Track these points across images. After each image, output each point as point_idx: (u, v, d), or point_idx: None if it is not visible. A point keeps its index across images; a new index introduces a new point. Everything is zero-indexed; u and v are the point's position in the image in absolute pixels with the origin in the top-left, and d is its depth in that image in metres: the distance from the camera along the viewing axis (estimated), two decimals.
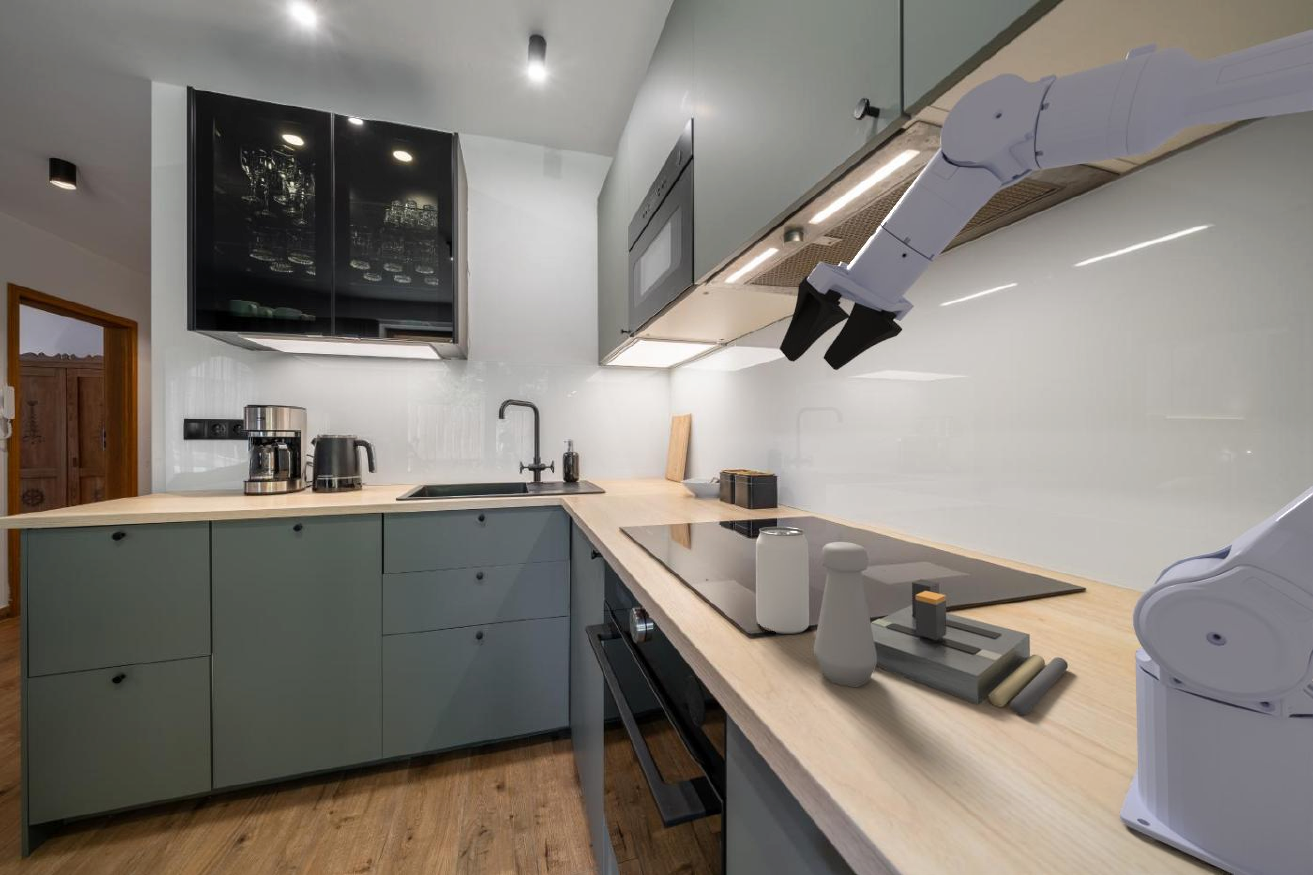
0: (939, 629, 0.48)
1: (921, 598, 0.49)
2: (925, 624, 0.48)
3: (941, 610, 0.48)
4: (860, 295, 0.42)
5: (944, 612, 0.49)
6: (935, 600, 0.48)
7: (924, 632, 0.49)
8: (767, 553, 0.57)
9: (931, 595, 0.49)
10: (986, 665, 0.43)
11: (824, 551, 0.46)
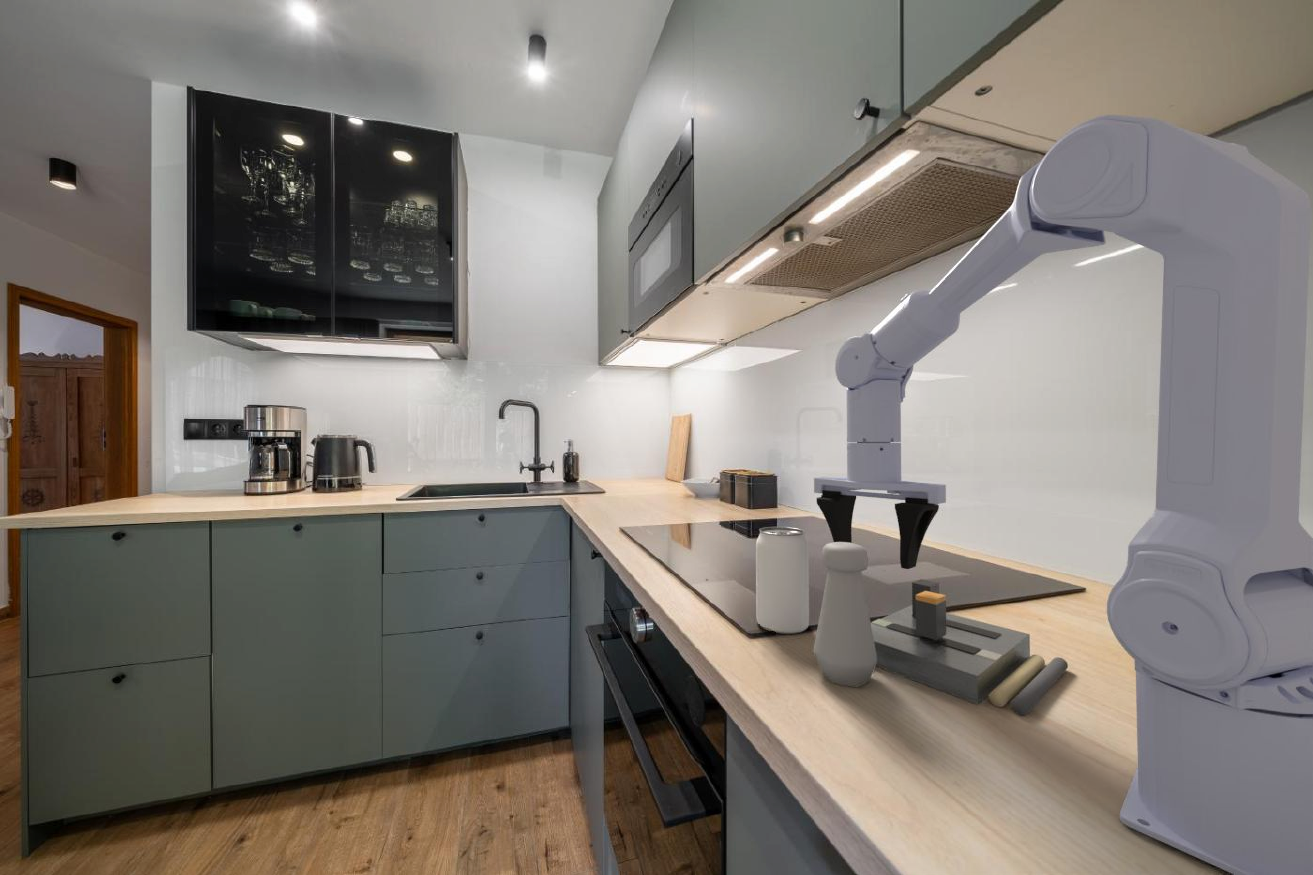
0: (939, 629, 0.48)
1: (921, 598, 0.49)
2: (925, 624, 0.48)
3: (941, 610, 0.48)
4: (837, 485, 0.56)
5: (944, 612, 0.49)
6: (935, 600, 0.48)
7: (924, 632, 0.49)
8: (767, 553, 0.57)
9: (931, 595, 0.49)
10: (986, 665, 0.43)
11: (824, 551, 0.46)
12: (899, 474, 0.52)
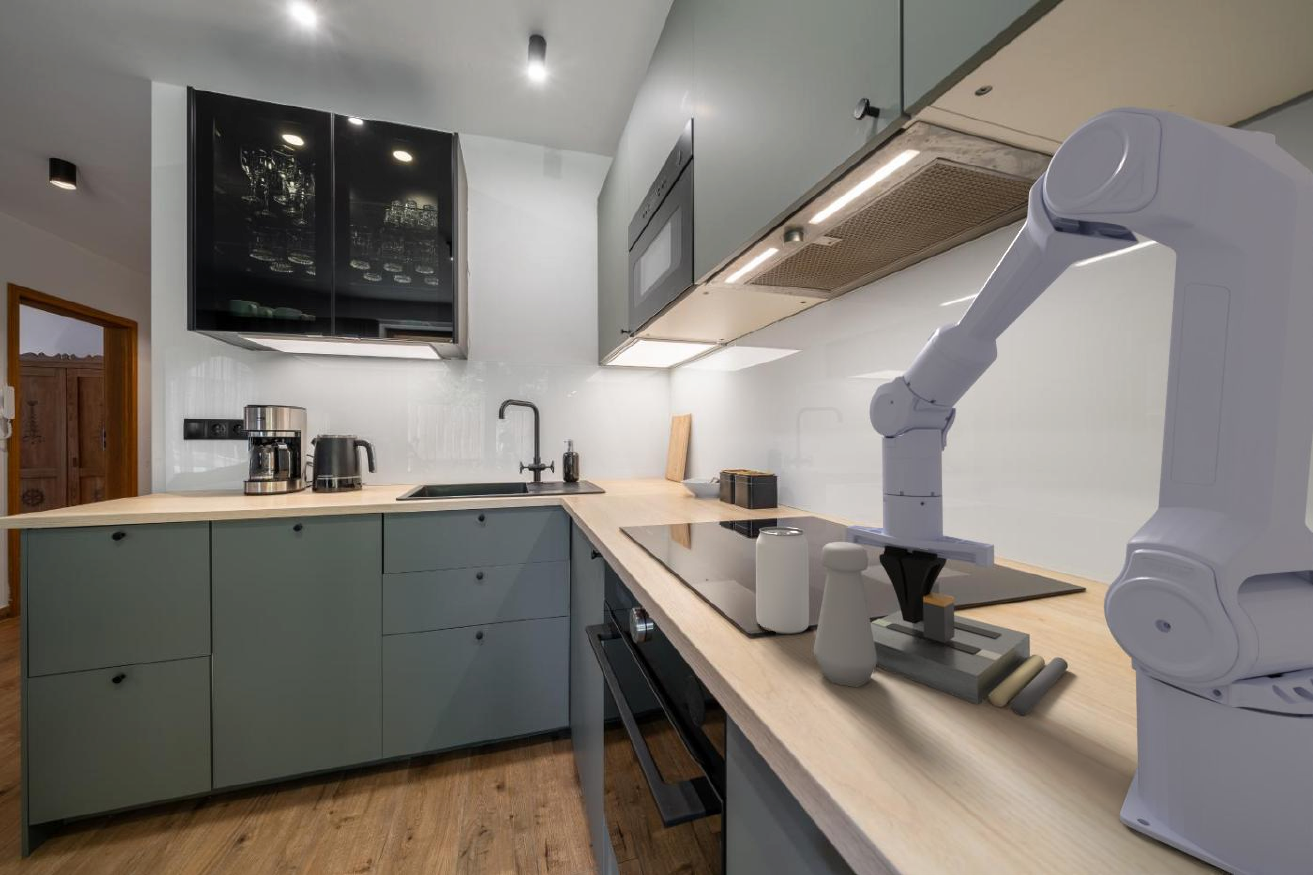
0: (947, 631, 0.48)
1: (929, 600, 0.48)
2: (933, 627, 0.48)
3: (949, 612, 0.48)
4: (872, 538, 0.52)
5: (952, 614, 0.48)
6: (944, 602, 0.47)
7: (932, 634, 0.48)
8: (767, 553, 0.57)
9: (939, 597, 0.49)
10: (986, 665, 0.43)
11: (824, 551, 0.46)
12: (941, 530, 0.49)
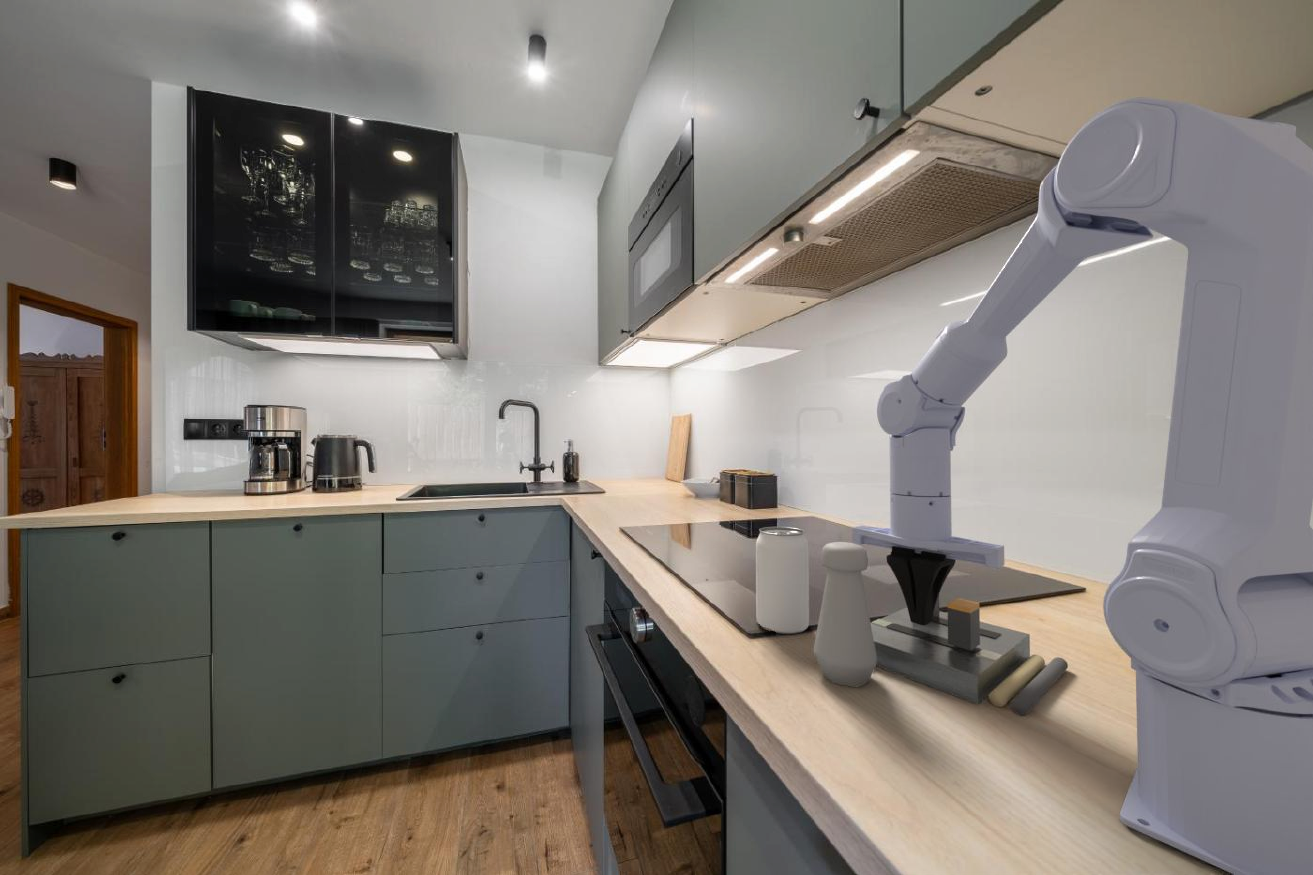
0: (973, 639, 0.46)
1: (954, 606, 0.46)
2: (958, 634, 0.46)
3: (975, 619, 0.46)
4: (879, 538, 0.52)
5: (978, 621, 0.46)
6: (969, 608, 0.45)
7: (957, 642, 0.46)
8: (767, 553, 0.57)
9: (964, 603, 0.47)
10: (986, 665, 0.43)
11: (824, 551, 0.46)
12: (950, 530, 0.48)
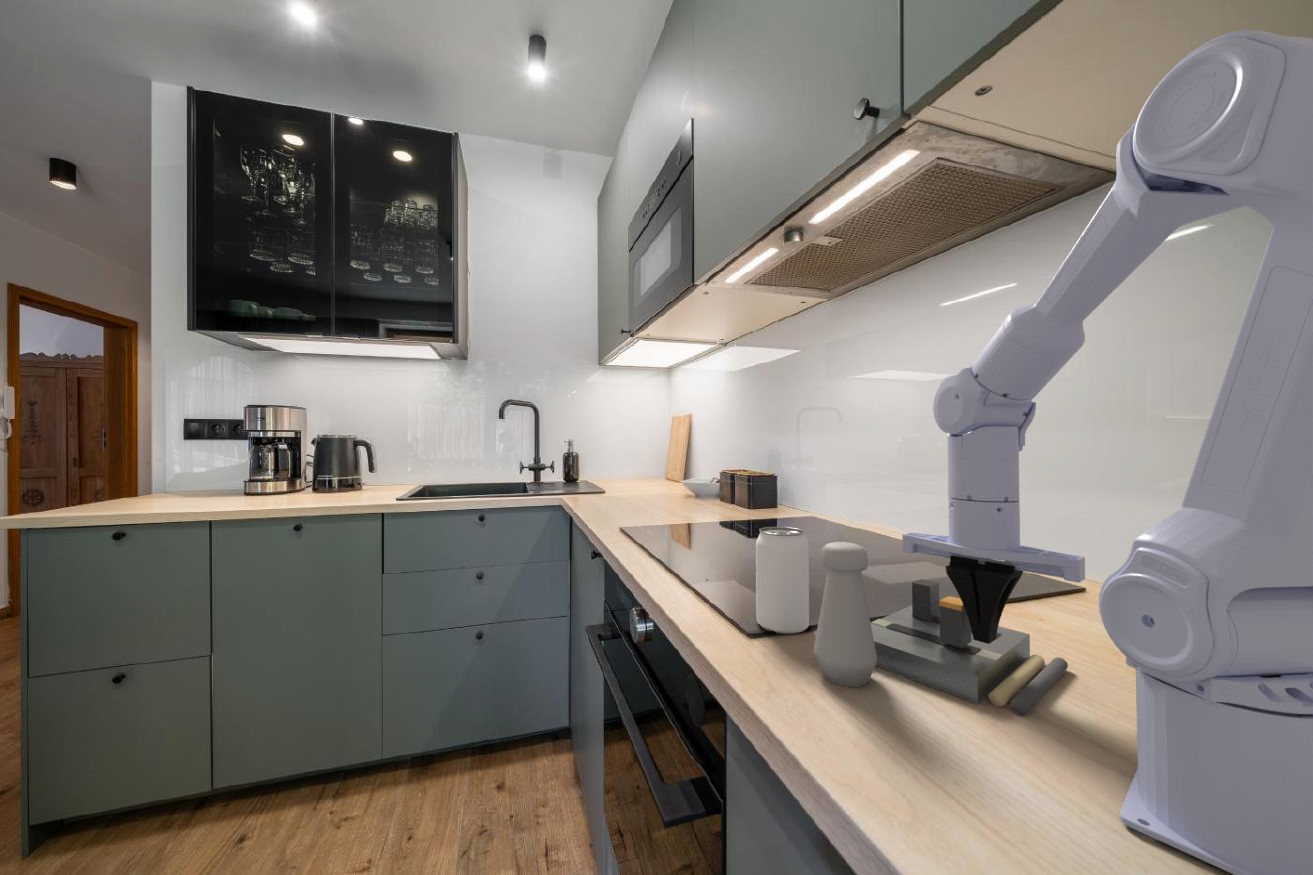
0: (964, 636, 0.46)
1: (945, 604, 0.47)
2: (950, 631, 0.47)
3: (966, 616, 0.47)
4: (936, 547, 0.47)
5: None
6: (961, 606, 0.46)
7: (949, 639, 0.47)
8: (767, 553, 0.57)
9: (956, 601, 0.47)
10: (986, 665, 0.43)
11: (824, 551, 0.46)
12: (1019, 539, 0.43)
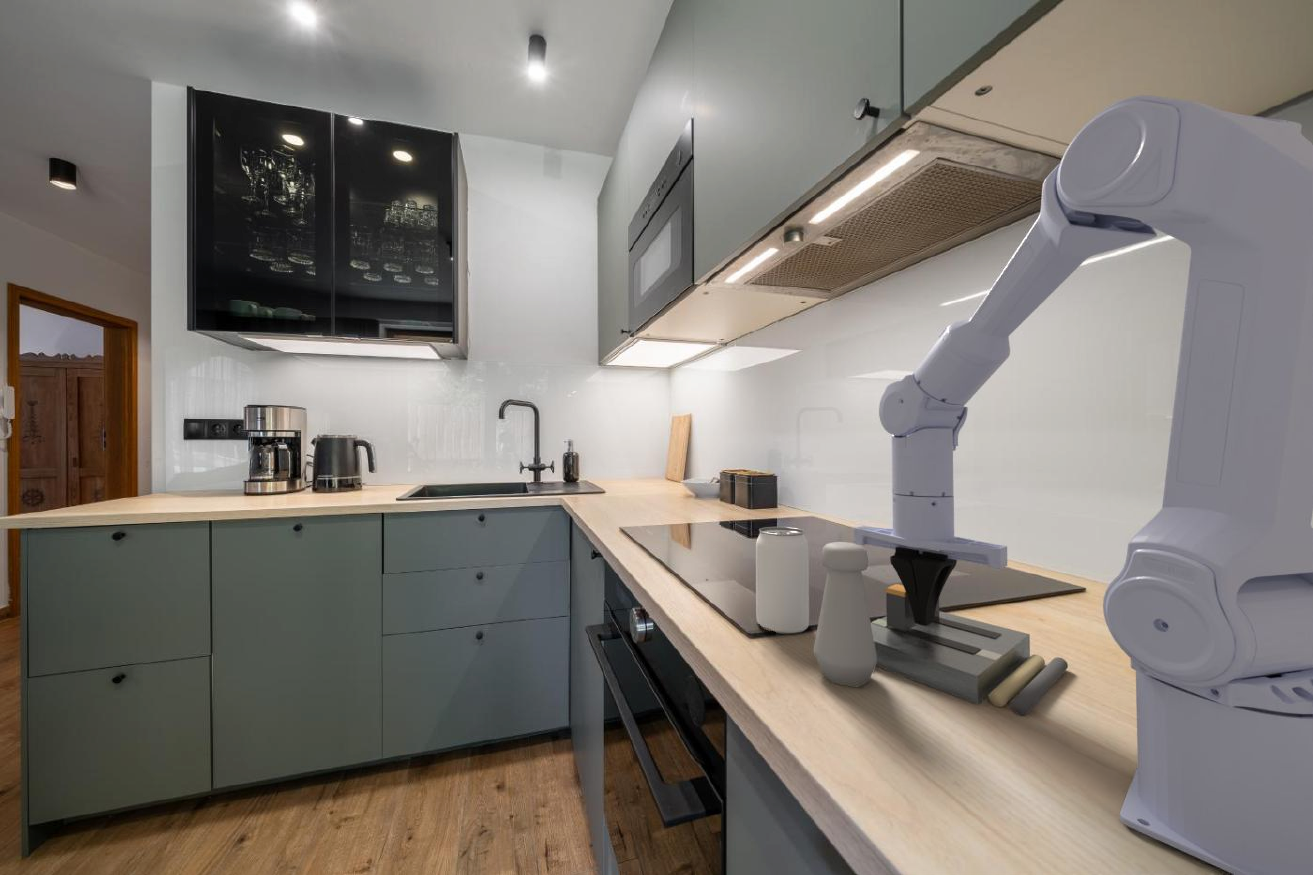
0: (908, 620, 0.51)
1: (891, 591, 0.51)
2: (895, 616, 0.51)
3: None
4: (881, 538, 0.51)
5: None
6: (904, 592, 0.50)
7: (894, 623, 0.51)
8: (767, 553, 0.57)
9: (901, 588, 0.52)
10: (986, 665, 0.43)
11: (824, 551, 0.46)
12: (952, 531, 0.48)
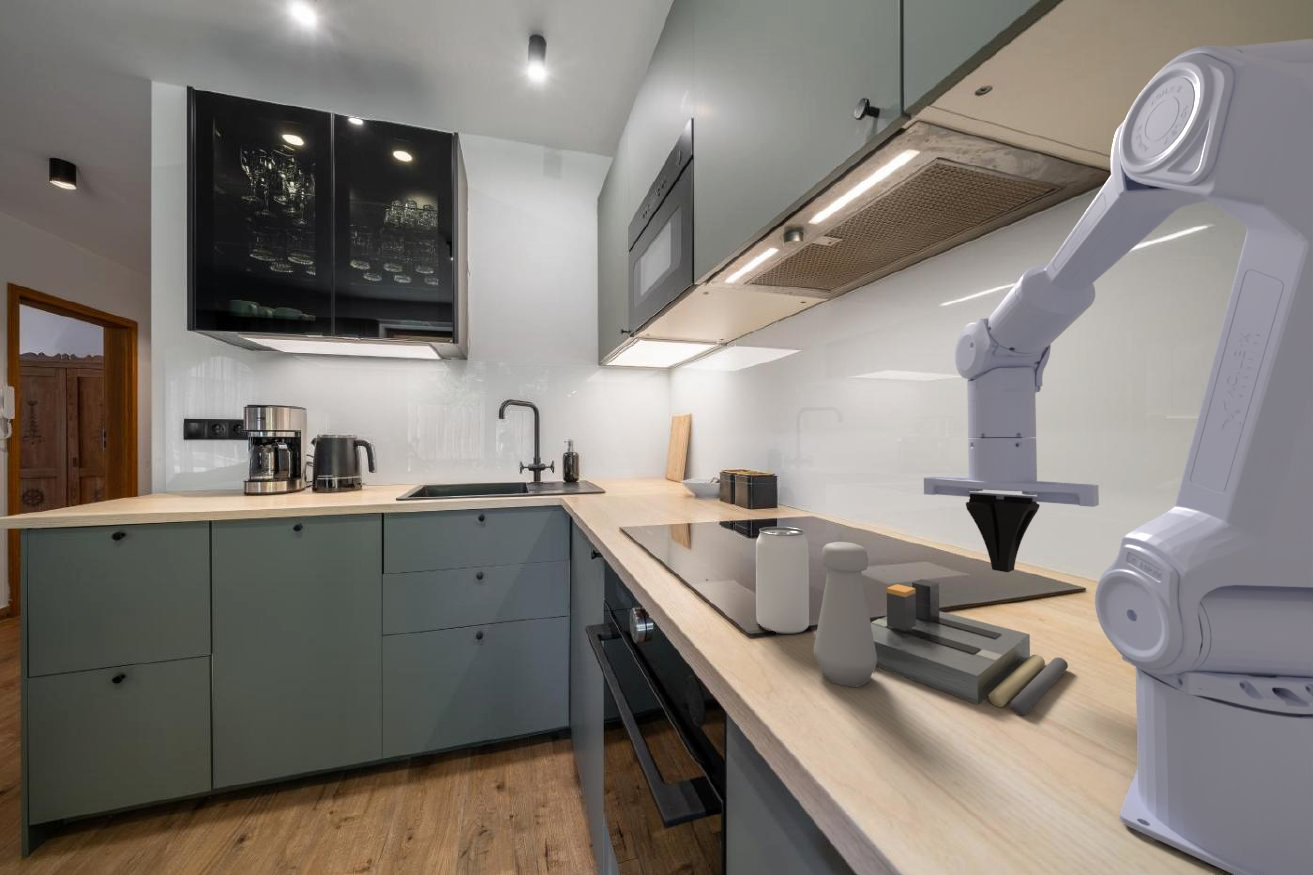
0: (908, 620, 0.51)
1: (892, 591, 0.51)
2: (895, 616, 0.51)
3: (910, 602, 0.51)
4: (957, 485, 0.50)
5: (913, 604, 0.51)
6: (905, 592, 0.50)
7: (894, 623, 0.51)
8: (767, 553, 0.57)
9: (901, 588, 0.52)
10: (986, 665, 0.43)
11: (824, 551, 0.46)
12: (1036, 473, 0.46)
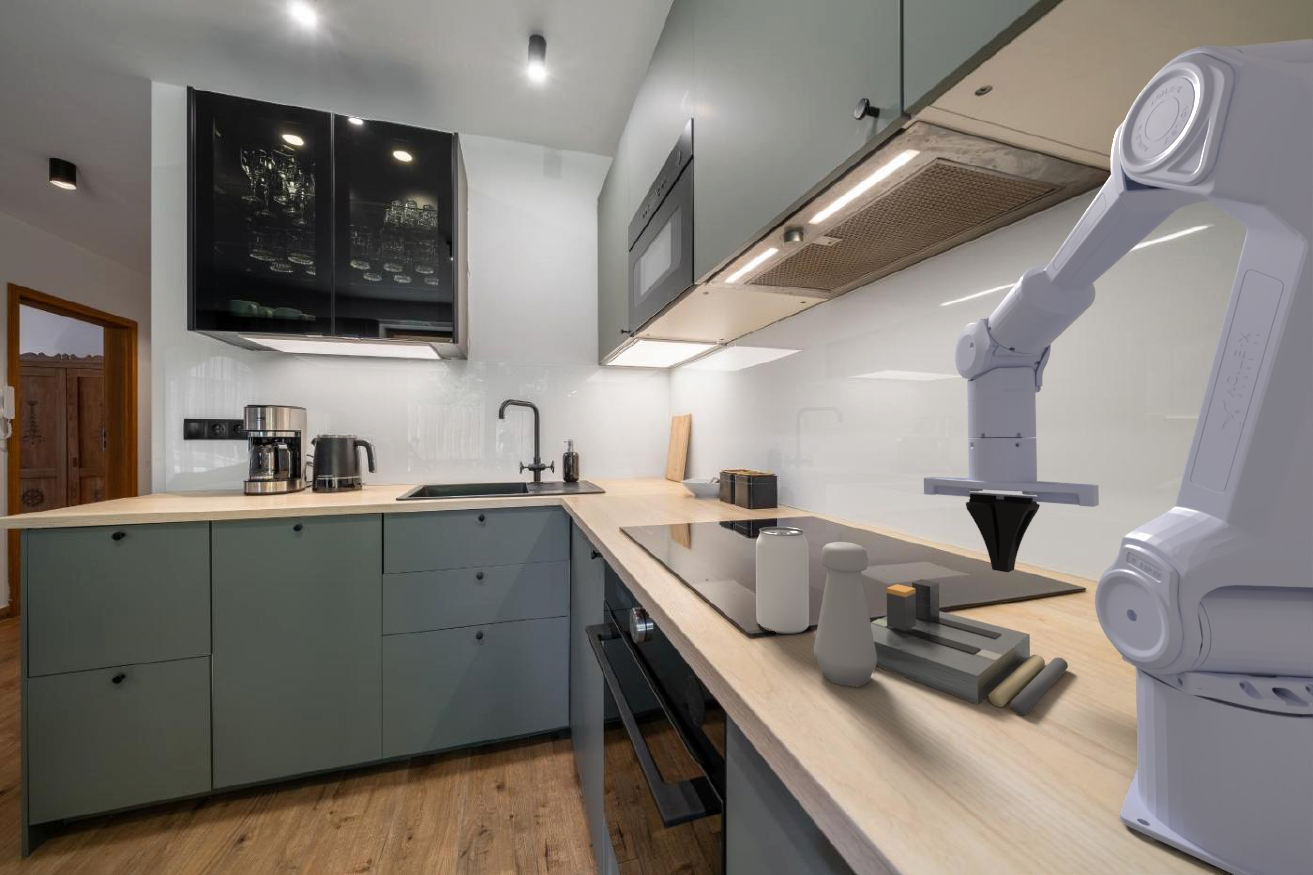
0: (908, 620, 0.51)
1: (892, 591, 0.51)
2: (895, 616, 0.51)
3: (910, 602, 0.51)
4: (957, 485, 0.50)
5: (913, 604, 0.51)
6: (905, 592, 0.50)
7: (894, 623, 0.51)
8: (767, 553, 0.57)
9: (901, 588, 0.52)
10: (986, 665, 0.43)
11: (824, 551, 0.46)
12: (1036, 473, 0.46)
